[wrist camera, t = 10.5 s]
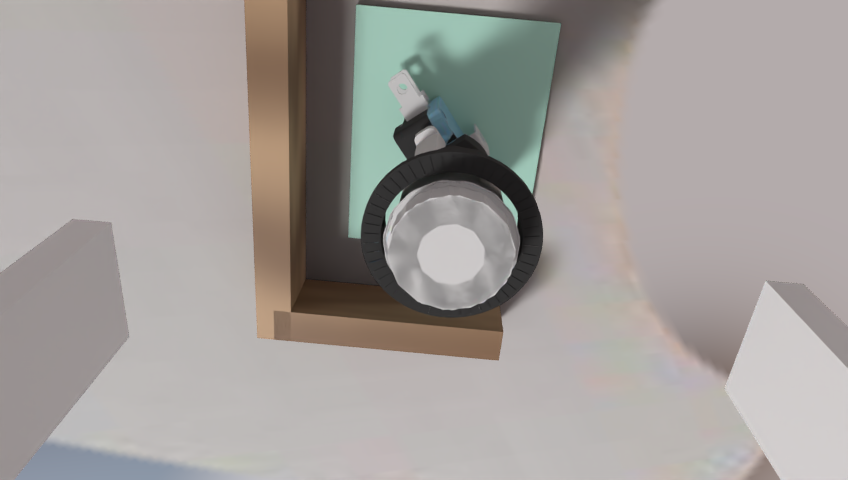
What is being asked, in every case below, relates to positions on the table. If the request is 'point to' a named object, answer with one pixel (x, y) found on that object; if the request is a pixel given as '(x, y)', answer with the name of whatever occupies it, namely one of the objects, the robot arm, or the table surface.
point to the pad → (448, 88)
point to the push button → (448, 217)
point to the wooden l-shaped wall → (286, 219)
